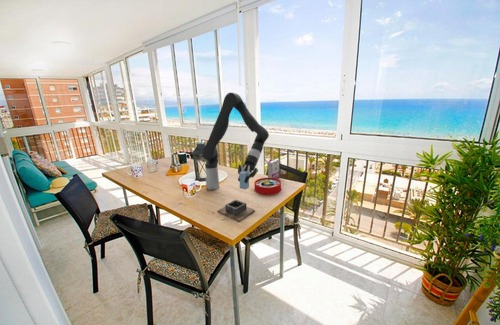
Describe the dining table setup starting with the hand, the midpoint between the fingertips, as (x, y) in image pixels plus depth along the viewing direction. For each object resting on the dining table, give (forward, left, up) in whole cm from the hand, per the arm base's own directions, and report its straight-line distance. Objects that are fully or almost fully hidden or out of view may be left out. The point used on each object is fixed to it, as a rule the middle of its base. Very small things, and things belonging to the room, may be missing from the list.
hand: (242, 181), depth 117 cm
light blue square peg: (+1, +2, -5) cm, 5 cm away
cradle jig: (-4, -4, -18) cm, 19 cm away
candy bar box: (+15, +52, -18) cm, 57 cm away
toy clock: (+12, +30, -18) cm, 38 cm away
